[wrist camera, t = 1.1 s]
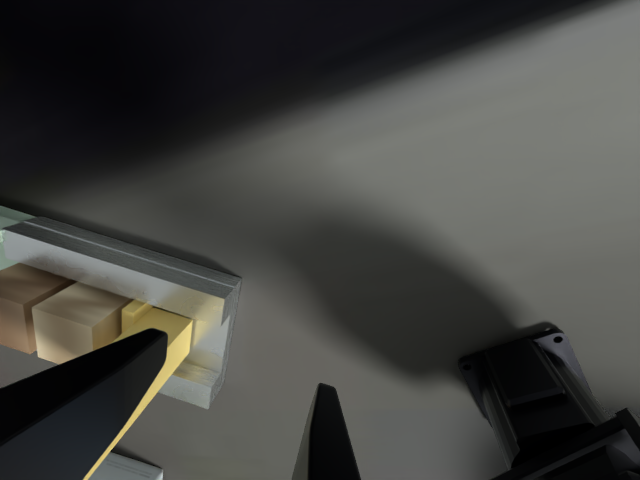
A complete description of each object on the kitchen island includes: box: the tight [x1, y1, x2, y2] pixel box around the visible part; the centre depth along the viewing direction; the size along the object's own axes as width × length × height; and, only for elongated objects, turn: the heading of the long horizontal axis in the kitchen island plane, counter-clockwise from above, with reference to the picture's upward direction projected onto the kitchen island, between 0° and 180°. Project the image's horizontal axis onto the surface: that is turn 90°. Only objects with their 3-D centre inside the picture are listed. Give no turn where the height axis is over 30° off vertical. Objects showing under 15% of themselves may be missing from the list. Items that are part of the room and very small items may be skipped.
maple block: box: [32, 281, 134, 364], centre depth 22 cm, size 4×4×4 cm
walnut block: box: [0, 262, 78, 354], centre depth 22 cm, size 4×4×4 cm
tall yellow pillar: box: [83, 300, 193, 480], centre depth 17 cm, size 4×5×13 cm
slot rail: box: [1, 216, 242, 409], centre depth 24 cm, size 16×10×3 cm, turn 76°
